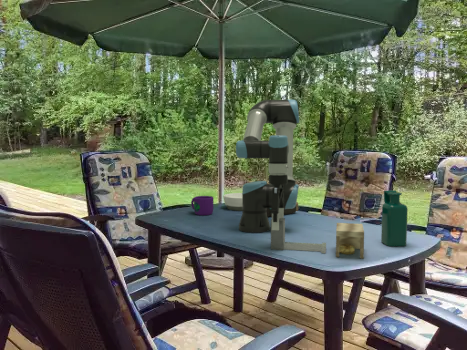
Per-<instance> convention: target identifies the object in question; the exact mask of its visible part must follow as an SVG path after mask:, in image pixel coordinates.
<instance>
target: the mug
mask: <svg viewBox="0 0 467 350" xmlns="http://www.w3.org/2000/svg"><path fill="white" fill-rule="evenodd" d="M190 205H191V208H192V209H193V210H194V213H195V215H197V216H210V215H212V214H213V213H214V196H211V195H198V196H197V195H196V196H195V197H193V198H192V199H191V201H190Z"/></svg>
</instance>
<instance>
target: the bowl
mask: <svg viewBox="0 0 467 350" xmlns="http://www.w3.org/2000/svg"><path fill="white" fill-rule="evenodd" d="M222 197H223V201H224V204H225V206H226V208H227V210H229V211H234V212H235V211H236V212H243V209H242V206H243V204H242V192H231V193H226V194H224V195H223V196H222Z"/></svg>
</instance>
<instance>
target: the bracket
mask: <svg viewBox="0 0 467 350" xmlns="http://www.w3.org/2000/svg"><path fill="white" fill-rule="evenodd" d="M270 250H271V251H273V250H274V251H284V250H285V251H286V250H287V251H288V250H289V251H305V252H320V253H321V254H326V252H327V242H321V243H314V242H313V243H311V242H310V243H309V242H294V241H293V242H292V241H291V242H290V241H286V218H285V217H284V218H279V230H272V218H271V219H270Z"/></svg>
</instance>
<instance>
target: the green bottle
mask: <svg viewBox="0 0 467 350" xmlns="http://www.w3.org/2000/svg"><path fill="white" fill-rule="evenodd" d="M402 195H403V194H402V192H398V191H397V190H395V189H394V190H383V200H384V201H383V202H384V203H383V204H382V208H381V239H380V241H381V243H382V244H384V245H386V246H387V247H391V248H392V247H405V246H407V239H408V238H407V235H408V234H407V233H408V211H409V210H408V209H409V208H408V207H407V204H404V203H402V202H401V201H400V200H401V198H400V197H401V196H402Z"/></svg>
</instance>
